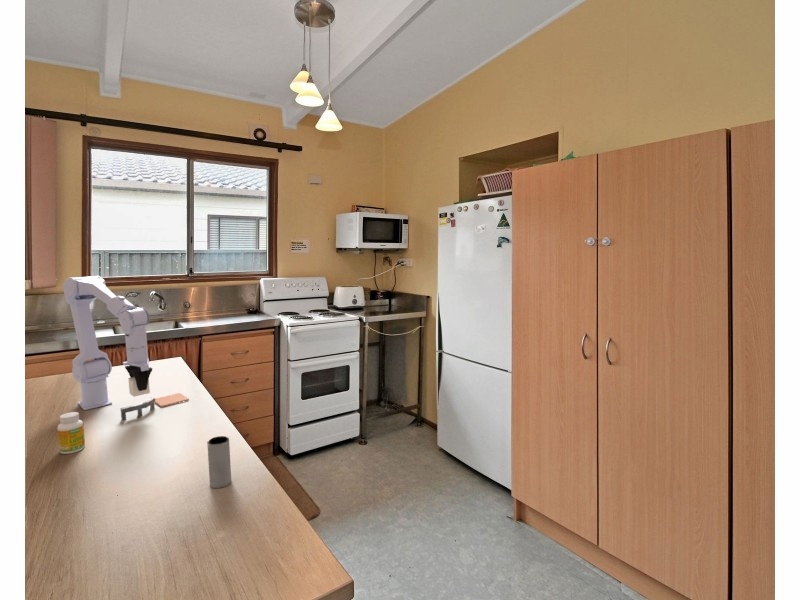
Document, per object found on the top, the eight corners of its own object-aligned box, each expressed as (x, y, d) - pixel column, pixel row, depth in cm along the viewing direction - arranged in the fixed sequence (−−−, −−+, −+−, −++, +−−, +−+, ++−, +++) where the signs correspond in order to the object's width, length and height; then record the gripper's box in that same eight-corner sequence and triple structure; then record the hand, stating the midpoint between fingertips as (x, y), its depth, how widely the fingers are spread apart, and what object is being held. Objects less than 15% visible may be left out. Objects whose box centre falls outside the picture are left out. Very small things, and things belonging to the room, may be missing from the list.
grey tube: (223, 475, 100) (221, 434, 99) (235, 481, 97) (233, 439, 96) (205, 484, 96) (203, 441, 95) (217, 490, 94) (214, 446, 92)
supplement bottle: (71, 455, 110) (67, 419, 109) (54, 453, 111) (50, 417, 110) (90, 445, 115) (87, 411, 114) (73, 444, 116) (70, 410, 115)
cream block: (129, 393, 135) (128, 378, 135) (145, 389, 139) (144, 375, 138) (133, 396, 132) (132, 381, 132) (149, 393, 135) (148, 377, 135)
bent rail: (118, 416, 135) (117, 405, 135) (154, 407, 143) (154, 397, 142) (122, 420, 132) (121, 409, 131) (159, 411, 140) (158, 400, 139)
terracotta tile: (152, 401, 149) (152, 399, 149) (179, 394, 155) (179, 392, 155) (161, 407, 143) (161, 405, 143) (189, 400, 149) (189, 398, 149)
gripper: (115, 345, 136) (119, 386, 137) (128, 352, 126) (132, 396, 128) (140, 341, 141) (143, 381, 143) (154, 348, 131) (158, 391, 133)
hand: (140, 388), depth 135 cm, fingers closed on cream block, 4 cm apart
